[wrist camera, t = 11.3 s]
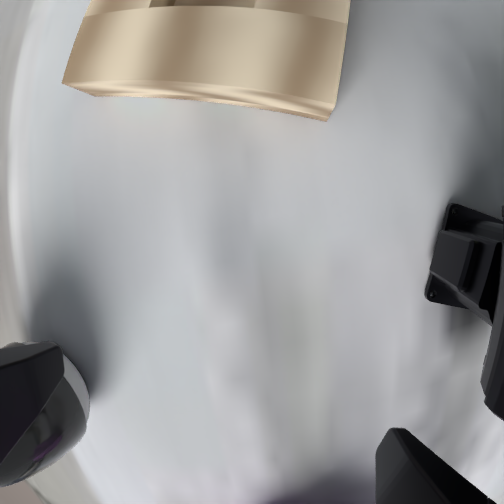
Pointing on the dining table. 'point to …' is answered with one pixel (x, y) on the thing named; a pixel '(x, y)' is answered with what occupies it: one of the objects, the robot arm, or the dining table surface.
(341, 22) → the housing
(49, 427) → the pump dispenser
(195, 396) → the dining table surface
